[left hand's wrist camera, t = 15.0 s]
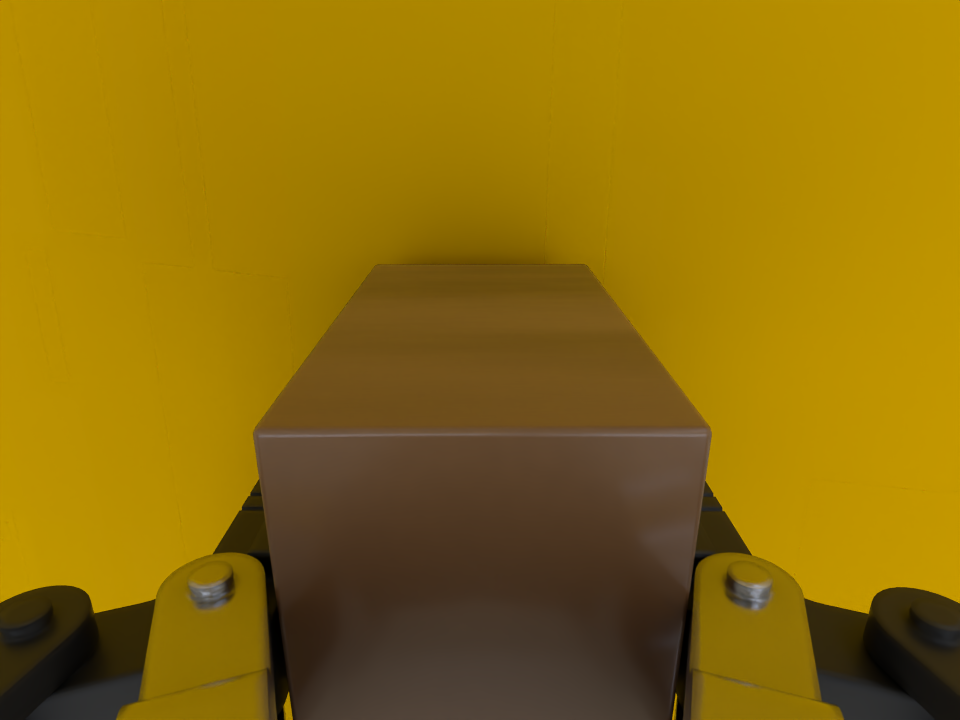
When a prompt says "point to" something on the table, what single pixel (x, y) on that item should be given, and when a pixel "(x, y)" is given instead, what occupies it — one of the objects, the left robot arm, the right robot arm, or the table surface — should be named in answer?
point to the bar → (482, 503)
